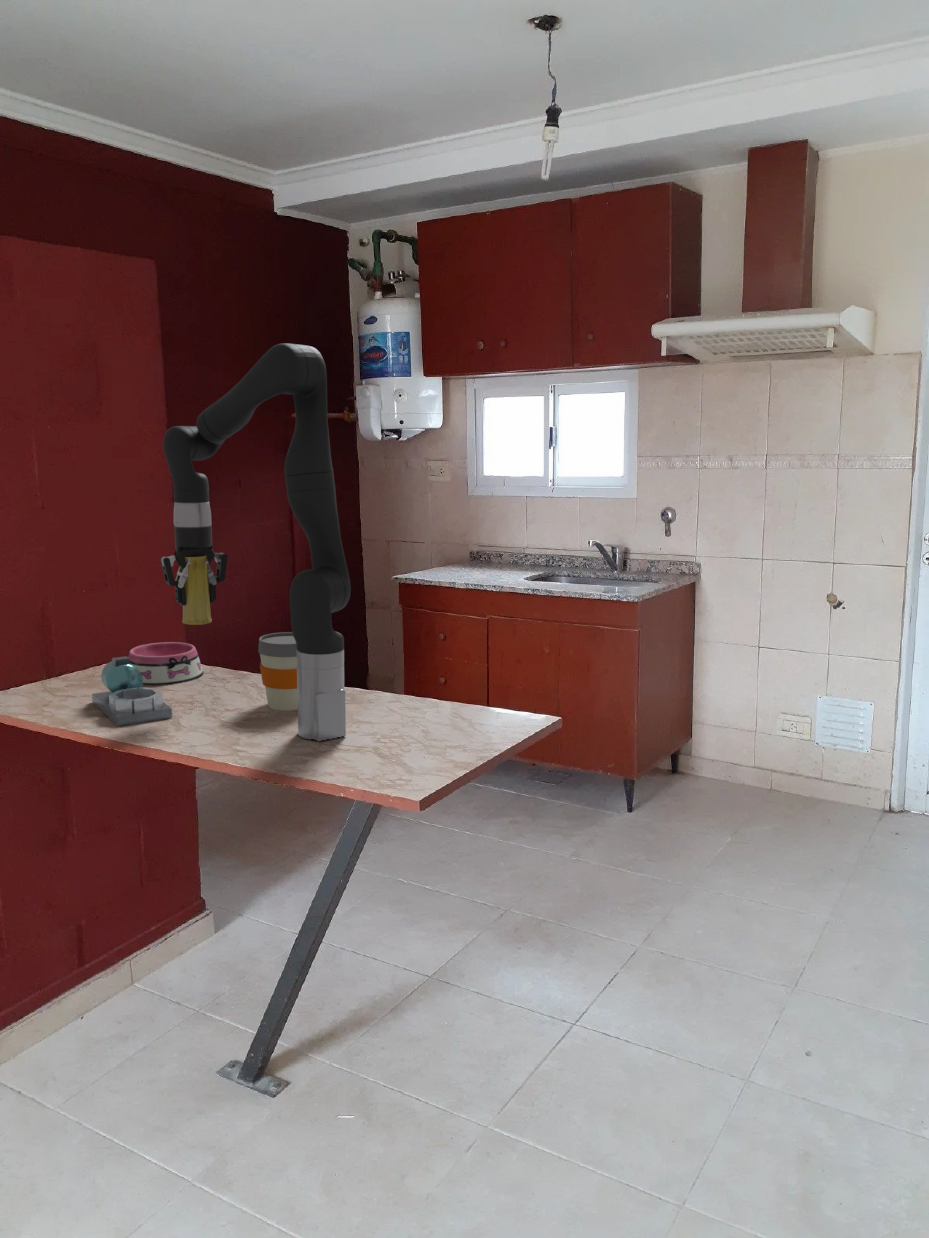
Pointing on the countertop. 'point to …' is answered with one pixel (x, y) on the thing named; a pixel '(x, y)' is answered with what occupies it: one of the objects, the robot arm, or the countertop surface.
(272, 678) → the reusable coffee cup
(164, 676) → the dog bowl
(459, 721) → the countertop surface
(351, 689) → the countertop surface
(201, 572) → the vase
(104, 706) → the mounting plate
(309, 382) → the robot arm
